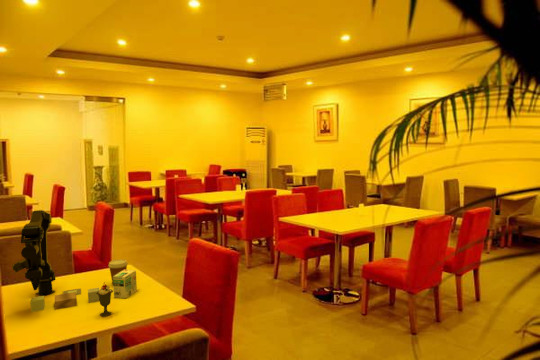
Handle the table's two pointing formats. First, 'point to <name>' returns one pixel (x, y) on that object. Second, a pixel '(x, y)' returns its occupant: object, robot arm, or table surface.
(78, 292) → the swatch card
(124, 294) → the light bulb box
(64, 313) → the table surface
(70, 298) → the walnut block
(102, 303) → the sundae
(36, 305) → the sage cube
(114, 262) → the disposable coffee cup
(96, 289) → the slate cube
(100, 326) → the table surface
